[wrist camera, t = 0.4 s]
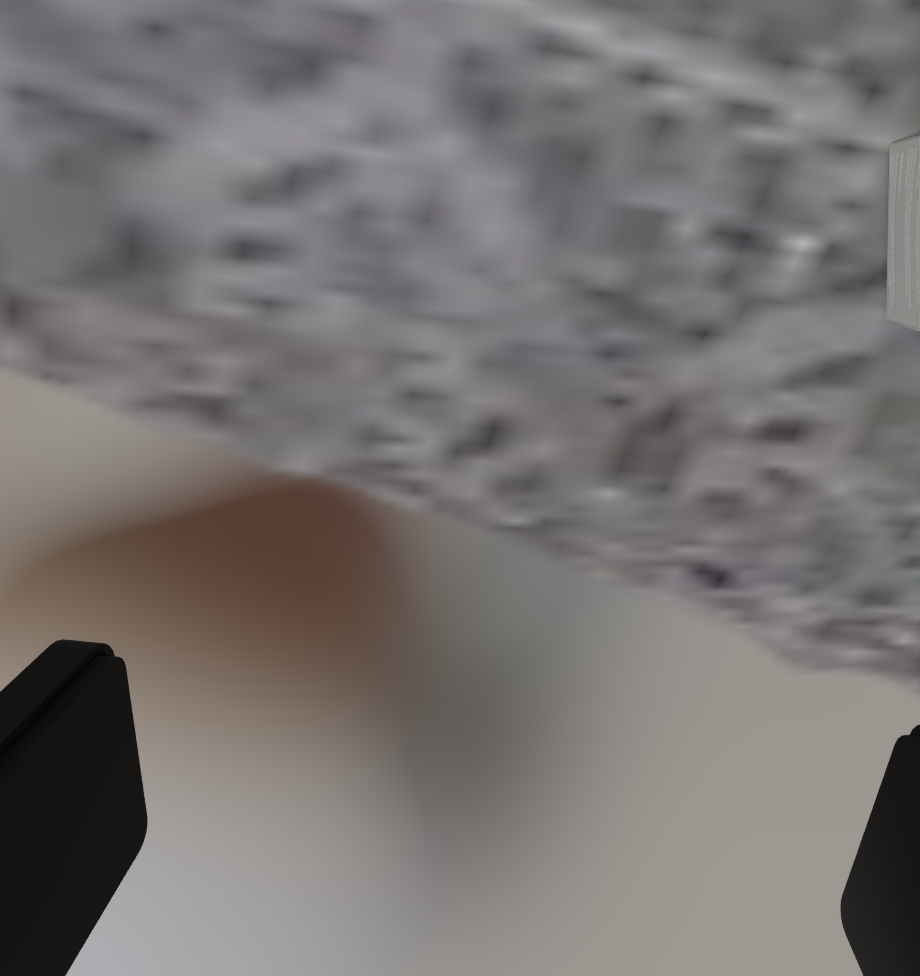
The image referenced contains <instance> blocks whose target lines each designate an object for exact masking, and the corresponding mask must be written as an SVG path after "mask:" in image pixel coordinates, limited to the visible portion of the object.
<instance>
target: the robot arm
mask: <svg viewBox="0 0 920 976" xmlns="http://www.w3.org/2000/svg"><path fill="white" fill-rule="evenodd" d="M146 830H147V812H146V805H145V798H144V791H143V783H142V776H141V770H140V762H139V755H138V748H137V742H136V734H135V727H134V720H133V713H132V706H131V699H130V692H129V685H128V678H127V671H126V666H125V662H124V661H123V659H122V658H120V657H115V656H114V652H113V650H112V649H111V647H110V646H109V645H107V644H103V643H93V642H83V641H74V640H64V639H63V640H58V641H56V642H54V643H53V644H51V645H50V646H49V647H48V648H47V649H46V650H45V651H44V652H42V653H41V654H40V655H39V656H38V657H37V658H36V659H35V660H34V661H33V662H32V663H31V664H30V665H29V666H28V667H26V668H25V669H24V670H23V671H22V672H21V673H20V674H19V675H18V676H17V677H16V678H15V679H14V680H13V681H11V682H10V683H9V684H8V685H7V686H6V687H5V688H4V689H3V690H2V691H1V692H0V976H65V975H66V974H67V972H68V970H69V969H70V967H71V965H72V964H73V962H74V960H75V958H76V957H77V955H78V953H79V952H80V950H81V948H82V947H83V945H84V943H85V942H86V940H87V938H88V937H89V935H90V933H91V931H92V930H93V928H94V927H95V925H96V923H97V921H98V920H99V918H100V917H101V915H102V913H103V912H104V910H105V908H106V907H107V905H108V903H109V902H110V900H111V898H112V896H113V895H114V893H115V891H116V890H117V888H118V886H119V885H120V883H121V881H122V880H123V878H124V876H125V875H126V873H127V871H128V870H129V868H130V866H131V865H132V863H133V861H134V860H135V858H136V856H137V854H138V853H139V851H140V849H141V847H142V844H143V842H144V839H145V835H146ZM841 919H842V924H843V928H844V931H845V934H846V936H847V938H848V941H849V943H850V945H851V948H852V950H853V953H854V955H855V957H856V960H857V962H858V964H859V966H860V969H861V971H862V973H863V976H920V725H917V726H916V727H915V728H914V729H913V730H912V731H911V734H910V735H903V736H901V737H900V738H898V739H897V741H896V743H895V745H894V748H893V751H892V754H891V757H890V760H889V763H888V766H887V768H886V771H885V774H884V777H883V780H882V783H881V786H880V788H879V791H878V794H877V797H876V800H875V803H874V806H873V809H872V811H871V815H870V817H869V820H868V823H867V826H866V829H865V832H864V834H863V837H862V840H861V843H860V846H859V849H858V852H857V855H856V858H855V861H854V863H853V866H852V869H851V872H850V875H849V878H848V881H847V883H846V886H845V889H844V892H843V895H842V899H841Z"/></svg>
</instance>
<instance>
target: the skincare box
mask: <svg viewBox="0 0 920 976" xmlns="http://www.w3.org/2000/svg"><path fill="white" fill-rule="evenodd" d="M886 318H887V320H888V321H890V322H893V323H896V324H898V325H901V326H904V327H908V328H911V329H914V330H917V331H920V135H917V136H913V137H909V138H905V139H901V140H898V141H895V142H891V144H890V150H889V203H888V249H887V315H886Z"/></svg>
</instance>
